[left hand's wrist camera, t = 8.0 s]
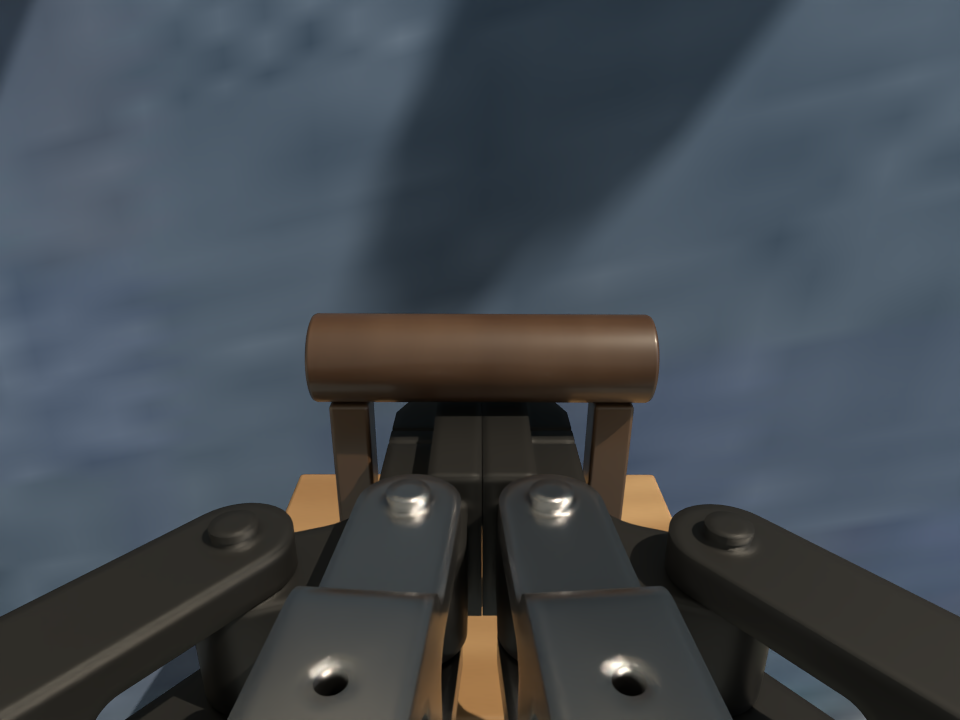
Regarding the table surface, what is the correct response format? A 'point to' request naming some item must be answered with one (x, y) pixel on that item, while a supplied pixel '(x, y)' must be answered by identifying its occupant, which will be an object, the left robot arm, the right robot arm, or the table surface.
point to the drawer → (480, 378)
